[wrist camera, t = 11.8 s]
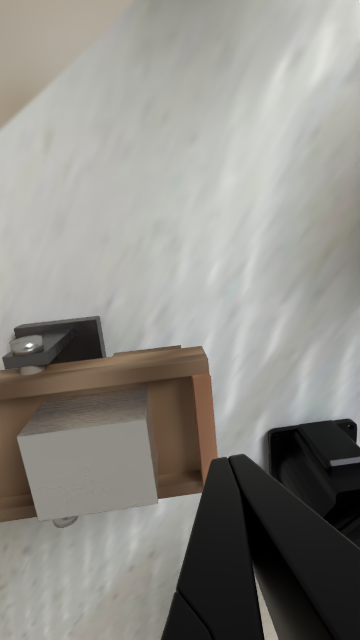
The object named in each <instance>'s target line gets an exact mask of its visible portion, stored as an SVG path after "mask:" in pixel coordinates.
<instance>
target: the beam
mask: <svg viewBox="0 0 360 640" xmlns="http://www.w3.org/2000/svg"><path fill="white" fill-rule="evenodd" d="M147 386H148V389H149V396H150V403H151V410H152V417H153V424H154V432H155V439H156V446H157V453H158V499H162V498H169V497H176V496H182V495H189V494H196V493H202V492H203V488H204V485H205V481H206V477H207V474H208V470H209V466H210V463H211V460H212V459H216V458H217V446H216V434H215V422H214V410H213V398H212V386H211V376H210V374H209V365H208V358H207V356H206V354H205V352H204V350H203V348H202V346H198V347H190V348H182V349H181V345H179V346H171V347H162V348H154V349H146V350H138V351H129V352H121V353H114V356H113V357H108V358H100V359H91V360H83V361H75V362H67V363H58V364H50V365H38V366H29V367H21V368H17V369H9V370H1V371H0V522H5V521H11V520H18V519H25V518H32V517H38V516H37V512H36V509H35V505H34V501H33V497H32V493H31V490H30V486H29V482H28V478H27V474H26V470H25V467H24V463H23V459H22V455H21V451H20V448H19V444H18V440H17V436H18V435H19V434H20V432H21V431H22V430H23V428H24V427H25V426H26V424H27V423H28V422H29V420H30V419H31V418H32V416H33V415H34V414H35V412H36V411H37V410H38V409H39V407H40V406H41V405H42V403H43V402H44V401H45V400H47V399H54V398H62V397H70V396H77V395H85V394H93V393H100V392H108V391H116V390H123V389H131V388H139V387H147Z"/></svg>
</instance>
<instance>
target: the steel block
mask: <svg viewBox="0 0 360 640" xmlns="http://www.w3.org/2000/svg"><path fill="white" fill-rule="evenodd" d="M17 440H18V444H19V448H20V451H21V455H22V459H23V463H24V467H25V470H26V474H27V478H28V482H29V486H30V490H31V493H32V497H33V501H34V505H35V509H36V512H37V516H38V520H39V521H44V520H51V519H58V518H65V517H71V516H78V515H85V514H91V513H98V512H105V511H111V510H118V509H125V508H131V507H138V506H145V505H151V504H158V453H157V446H156V439H155V432H154V424H153V417H152V410H151V403H150V396H149V389H148V386H147V387H139V388H131V389H123V390H116V391H108V392H100V393H93V394H85V395H77V396H70V397H62V398H54V399H47V400H45V401H44V402H43V403H42V405H41V406H40V407H39V409H38V410H37V411H36V412H35V414H34V415H33V416H32V418H31V419H30V420H29V422H28V423H27V424H26V426H25V427H24V428H23V430H22V431H21V432H20V434H19V435H18V436H17Z"/></svg>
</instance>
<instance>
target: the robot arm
mask: <svg viewBox="0 0 360 640" xmlns="http://www.w3.org/2000/svg"><path fill="white" fill-rule="evenodd" d="M349 425H350V426H349ZM348 426H349V427H348ZM347 427H348V428H347ZM275 435H278V436H277V437H274V436H275ZM356 441H357V425H356V423H355V422H354V421H353V420H351V419H342V420H334V421H331V420H329V421H322V422H314V423H306V424H300V425H296V426H288V427H281V428H274V429H271V430H270V431H269V433H268V445H269V471H270V475H269V474H268V473H267V472H266V471H265V470H263V469H262V468H261V467H260V466H258V465H257V464H256V463H255V462H254V461H252V460H251V459H250V458H249V457H247V456H246V455H245V454H239V455H233V456H230V457H229V458H227V457H222V458H216V459H212V460H211V463H210V466H209V470H208V474H207V477H206V481H205V485H204V488H203V492H202V495H201V499H200V503H199V506H198V510H197V514H196V517H195V521H194V524H193V528H192V532H191V535H190V539H189V543H188V546H187V550H186V553H185V557H184V561H183V564H182V568H181V572H180V575H179V579H178V582H177V586H176V592H175V593H174V596H173V600H172V603H171V607H170V611H169V614H168V618H167V621H166V624H165V628H164V631H163V634H162V637H161V640H265V639H264V633H263V627H262V621H261V614H260V608H259V602H258V595H257V589H256V583H255V577H254V573H255V575H256V578H257V581H258V584H259V586H260V589H261V592H262V595H263V597H264V600H265V603H266V606H267V608H268V611H269V614H270V617H271V619H272V622H273V625H274V628H275V631H276V633H277V636H278V639H279V640H360V447H359V446H358V445H357V444H356Z"/></svg>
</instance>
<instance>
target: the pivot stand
mask: <svg viewBox="0 0 360 640" xmlns="http://www.w3.org/2000/svg"><path fill="white" fill-rule="evenodd" d="M14 332H15V336H16V339H15V340H13V341H11V342H10V347H11V352H10V353H8V354H7V355H5V356H4V357H2V358H3V362H4V366H5V369H12V368H21V367H29V366H38V365H50V364H58V363H67V362H75V361H83V360H91V359H100V358H106V352H105V346H104V340H103V334H102V329H101V323H100V317H99V316H95V317H86V318H77V319H68V320H59V321H50V322H41V323H33V324H24V325H20V326H18V327H16V328H14ZM78 517H79V515H78V516H71V517H65V518H58V519H53V523H54V525H55V526H56V527H58V528H64V527H67V526H69V525H71V524H72V523H74V522H75V521H76V520H77V518H78Z"/></svg>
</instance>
